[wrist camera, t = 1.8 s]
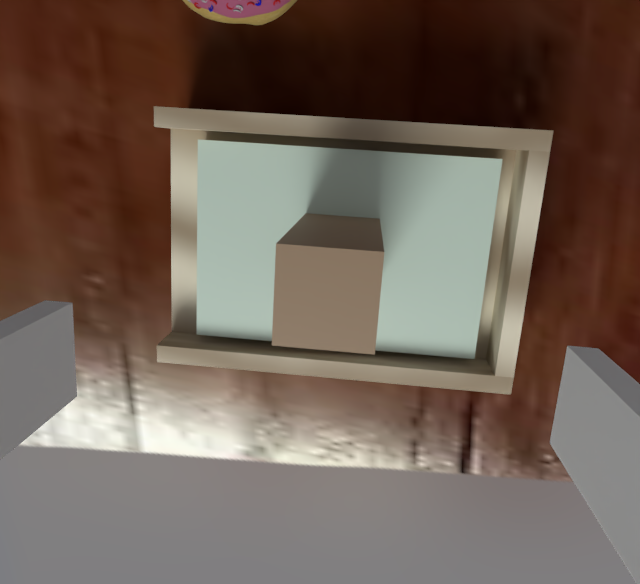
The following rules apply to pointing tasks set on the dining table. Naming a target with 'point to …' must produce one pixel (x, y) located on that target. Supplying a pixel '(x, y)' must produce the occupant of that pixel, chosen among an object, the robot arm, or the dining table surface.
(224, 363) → the birch box
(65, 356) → the robot arm
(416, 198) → the cover plate
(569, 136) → the dining table surface
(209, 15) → the cupcake
